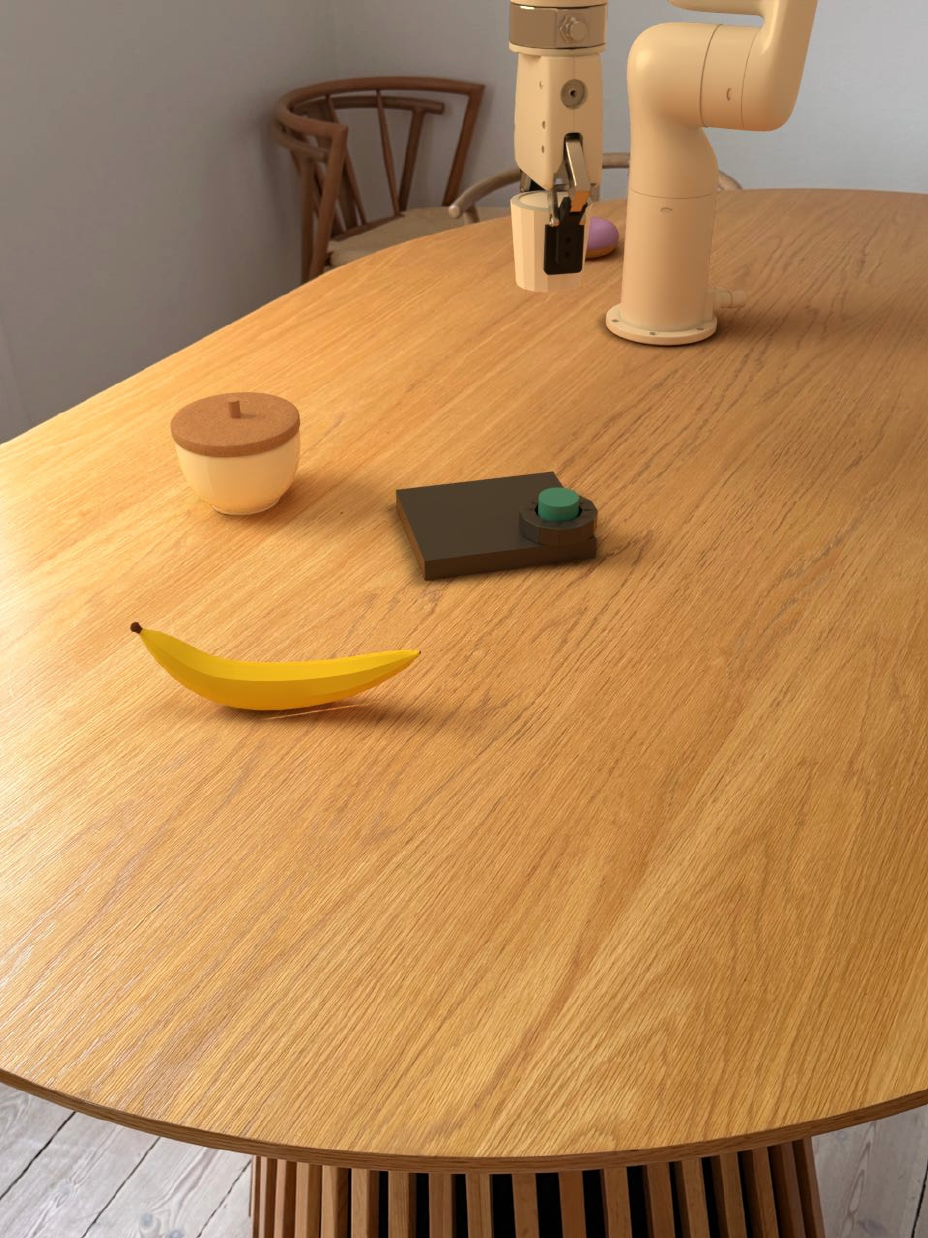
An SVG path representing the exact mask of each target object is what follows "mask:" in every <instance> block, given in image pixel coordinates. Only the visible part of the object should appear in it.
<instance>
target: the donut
mask: <svg viewBox="0 0 928 1238" xmlns="http://www.w3.org/2000/svg"><path fill="white" fill-rule="evenodd" d="M619 239H620V232H619V229H618V228H617V226H616V225H615V224H614V223H613V222H612V221H609V220H608V219H605V218H603V217H597V216H591V221H590V228H589V235H588V241H587V248H586V255H585V260H587V259H588V260H589V259H595V258H600V257H603V256H606V255H608V254H610V253H611V252H613V251H614V250H615V249H616V247H617V245H618V242H619Z"/></svg>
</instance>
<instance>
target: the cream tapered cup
mask: <svg viewBox="0 0 928 1238" xmlns="http://www.w3.org/2000/svg"><path fill="white" fill-rule="evenodd" d="M557 196H558V207H559V206H560V204H561V201H562V199H563V197H568V194H562V195H557ZM586 203H588V206H587V208H586V210H585V211H586V223H585V227H584V246H583V265H582V270H581V272H579V273H571V274H558V275H547V274H546V273H545V272H544V270H543V266H544V237H545V224H550V222H549V212H548V202H547V191H546V190H538V191H531V192H524V193H521V194H519V193H518V194H516V195H514V196H512V197H511V198H510V215H511V216H510V217H511V229H512V242H513V243H512V245H513V254H514V255H513V257H514V273H515V282H516V285H517V286H518V287H520V288H521V289H523V290H526V291H529V292H534V293H542V294H556V293H557V294H561V293H566V292H570V291H571V292H572V291H573V290H575V289H578V288H580V286H581V285H582V282H583V275H584V269H585V262H586V259H585V255H586V248H587V241H588V235H589V228H590V221H591V217H592V213H593V207H594V201H593V199H592V198H591V196H589V197H588V199H587V202H586Z"/></svg>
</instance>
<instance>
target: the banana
mask: <svg viewBox="0 0 928 1238" xmlns="http://www.w3.org/2000/svg"><path fill="white" fill-rule="evenodd" d="M129 628H130V632H132V633H136V634H137V635H139V638H140V639H141V641H142V643H143V644H144V646H145V648H146V650H147V651H148V653H150V655H151V656H152V657H153V658H154V660H155V661H156V662H157V663H158V665H160V666H161V668H163V669H164V671H165V672H167V674H169V675H170V676H171V677H172V678H173V679H174V680H176V681H177V682H178V683H179V684H180V685H182V686H183V687H184V688H185V689H187V690H189V691H191V692H193V693H194V694H196V695H198V696H199V697H201V698H205V699H206V700H208V701H211V702H214V703H216V704H219V705H224V706H226V707H227V706H228V707H230V708H235V709H244V710H255V711H283V710H285V711H286V710H293V709H301V708H308V707H314V706H319V705H320V706H321V705H324V704H330V703H333V702H337V701H338V702H339V701H340V700H345V699H348V698H351V697H354V696H357V695H359V694H361V693H363V692H366V691H369V690H371V689H373V688H376V687H377V686H379V685H380V684H382V683H384V682H386V681H388V680H390V679H392V678H394V677H395V676H397V675H398V674H400V673H401V672H403V671H404V670H405V669H407V668H408V667H410V666H411V665H412V663H413V662H414V661H415V660H416V659H417V658H419V657H420V656H421V654H422V651H421V650H419V649H416V650H413V649H406V648H405V649H397V650H395V649H394V650H386V651H378V652H371V653H364V654H358V655H350V656H343V657H337V658H328V659H317V660H299V661H297V660H296V661H252V660H239V659H233V658H225V657H221V656H218V655H214V654H210V653H208V652H207V651H204V650H202V649H199V648H197V647H195V646H193V645H191V644H189V643H187V642H185V641H183V640H181V639H179V638H177V637H174V636H173V635H169V634H167V633H164V632H162V631H159V630H153V629H149V628H143V627H142V625H140V623H139V622H138V621H133V622H132V623H130V627H129Z"/></svg>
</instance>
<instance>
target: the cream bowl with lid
mask: <svg viewBox="0 0 928 1238" xmlns="http://www.w3.org/2000/svg"><path fill="white" fill-rule="evenodd" d="M300 426H301V416H300V411H299V409H298V408H297V407H296V406H295V405H294V404H293V403H292V402H291V401H289V400H288V399H285V398H284V397H281V396H277V395H273V394H269V393H263V392H253V391H252V392H251V391H240V392H239V391H238V392H237V391H236V392H228V393H220V394H214V395H211V396H206V397H203V398H200V399H197V400H194V401H192V402H190V403H188V404H186V405H185V406H183V407H182V408H180V409H179V410H178V411H177V412H176V413H174V415H173V417H172V418H171V421H170V433H171V438H172V439H173V442H174V449H175V453H176V458H177V461H178V464H179V467H180V470H181V472H182V475H183V477H184V479H185V482H186V483H187V485H188V486H189V488H190V489H191V490H192V491H193V492H194V494H195V495H197V497H199V498H200V499H201V500H203V501H204V502H205V503H207V504H208V505H210V507H211V508H212V509H213V510H214V511H216V512H218V513H220V514H223V515H231V516H249V515H255V514H259V513H262V512H266V511H267V510H269V509H271V508H273V507H274V506H276V505H277V504H278V503H279V501H280V499H281V497H283V496H284V495H285V494H286V492H287V491H288V490H289V488H291V485H292V483H293V482H294V480H295V477H296V475H297V473H298V470H299V463H300V457H301V432H300V428H301V427H300Z"/></svg>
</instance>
